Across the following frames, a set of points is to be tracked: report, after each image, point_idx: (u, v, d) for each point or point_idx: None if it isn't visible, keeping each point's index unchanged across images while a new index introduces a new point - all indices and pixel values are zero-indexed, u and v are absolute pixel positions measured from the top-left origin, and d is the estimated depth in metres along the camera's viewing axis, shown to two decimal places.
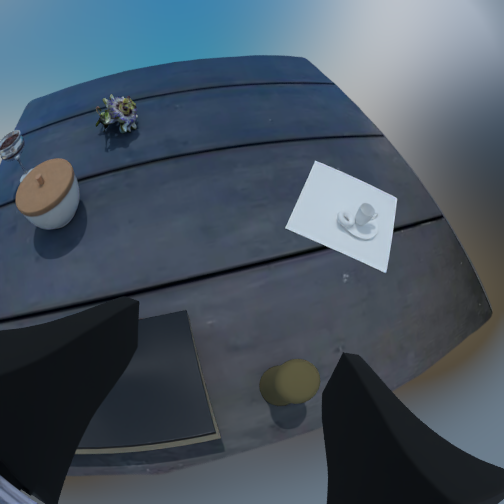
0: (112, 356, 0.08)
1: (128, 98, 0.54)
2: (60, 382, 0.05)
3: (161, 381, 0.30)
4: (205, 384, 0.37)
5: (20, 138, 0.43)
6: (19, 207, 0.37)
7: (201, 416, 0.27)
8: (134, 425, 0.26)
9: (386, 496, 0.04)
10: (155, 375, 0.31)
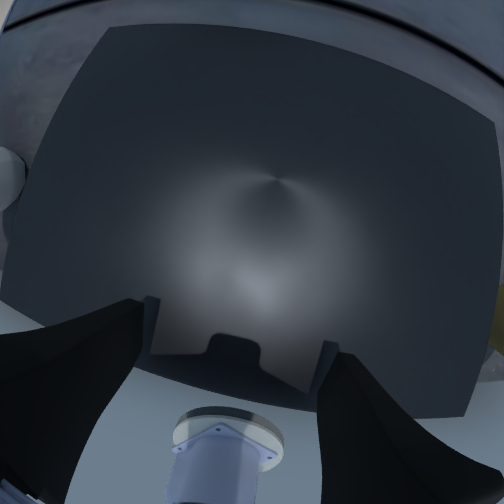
0: (118, 358, 0.08)
1: None
2: (66, 386, 0.05)
3: (441, 262, 0.11)
4: None
5: None
6: None
7: (466, 380, 0.11)
8: None
9: (378, 497, 0.04)
10: (434, 238, 0.11)
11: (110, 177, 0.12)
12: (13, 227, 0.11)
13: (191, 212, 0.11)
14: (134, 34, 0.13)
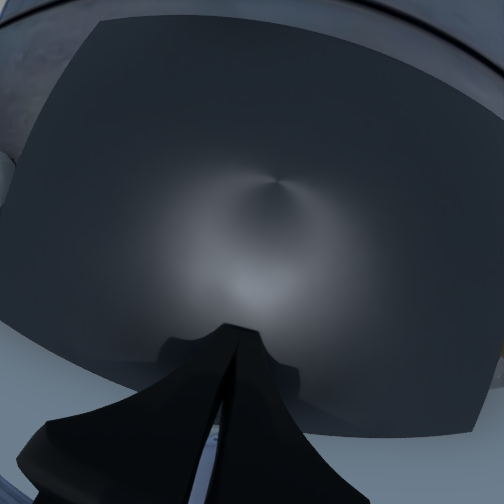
0: (222, 392, 0.08)
1: None
2: (204, 440, 0.05)
3: (455, 271, 0.10)
4: None
5: None
6: None
7: (476, 395, 0.09)
8: (345, 383, 0.10)
9: (213, 486, 0.04)
10: (447, 245, 0.10)
11: (95, 179, 0.10)
12: None
13: (181, 218, 0.10)
14: (125, 27, 0.11)
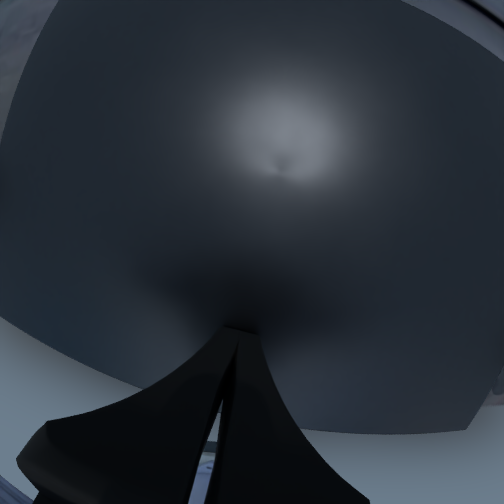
0: (222, 392, 0.08)
1: None
2: (204, 440, 0.05)
3: (475, 279, 0.09)
4: None
5: None
6: None
7: (475, 398, 0.09)
8: (345, 388, 0.10)
9: (213, 486, 0.04)
10: (472, 250, 0.08)
11: (74, 176, 0.09)
12: None
13: (169, 219, 0.09)
14: None
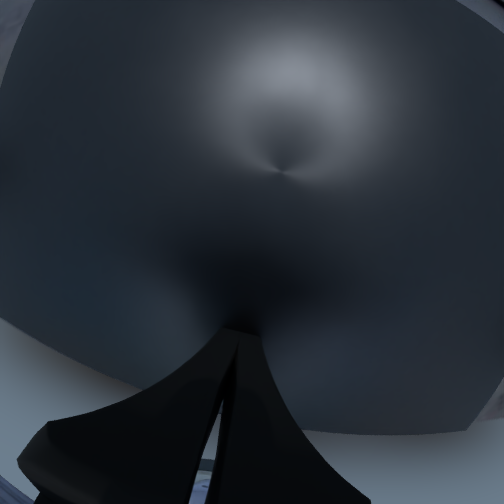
0: (223, 392, 0.08)
1: None
2: (205, 440, 0.05)
3: (486, 285, 0.08)
4: None
5: None
6: None
7: (477, 402, 0.09)
8: (346, 393, 0.09)
9: (214, 486, 0.04)
10: (485, 256, 0.08)
11: (61, 177, 0.08)
12: None
13: (162, 223, 0.08)
14: None
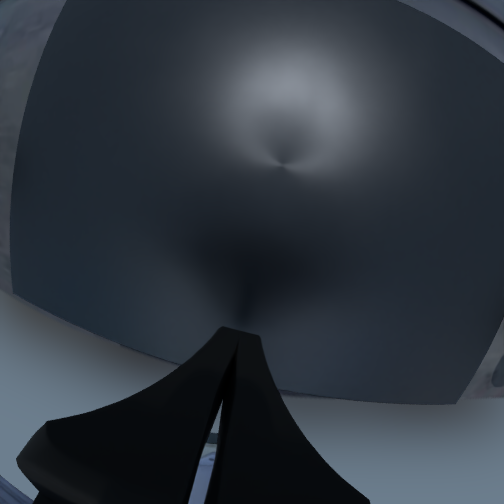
0: (222, 392, 0.08)
1: None
2: (204, 440, 0.05)
3: (460, 262, 0.10)
4: None
5: None
6: None
7: (463, 374, 0.11)
8: (340, 356, 0.11)
9: (213, 486, 0.04)
10: (457, 235, 0.10)
11: (95, 168, 0.10)
12: (11, 224, 0.11)
13: (185, 206, 0.10)
14: None
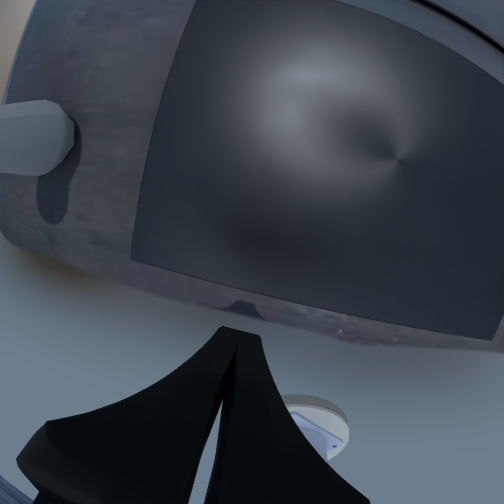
0: (222, 392, 0.08)
1: None
2: (204, 440, 0.05)
3: (492, 228, 0.14)
4: None
5: None
6: None
7: (496, 314, 0.15)
8: (424, 292, 0.15)
9: (213, 486, 0.04)
10: (490, 210, 0.13)
11: (258, 145, 0.14)
12: (142, 190, 0.15)
13: (335, 180, 0.14)
14: None
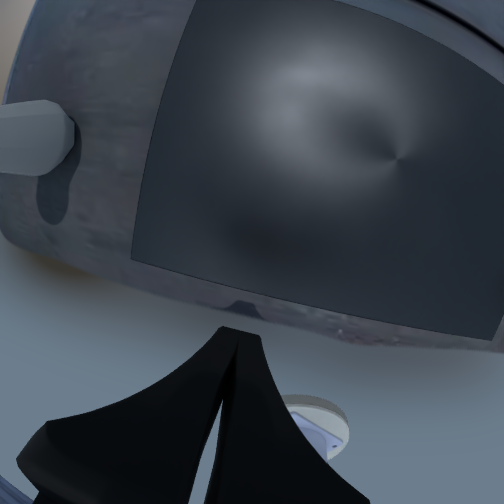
0: (222, 392, 0.08)
1: None
2: (204, 440, 0.05)
3: (492, 228, 0.14)
4: None
5: None
6: None
7: (496, 314, 0.15)
8: (424, 292, 0.15)
9: (213, 486, 0.04)
10: (490, 210, 0.13)
11: (258, 145, 0.14)
12: (142, 190, 0.15)
13: (335, 180, 0.14)
14: None
